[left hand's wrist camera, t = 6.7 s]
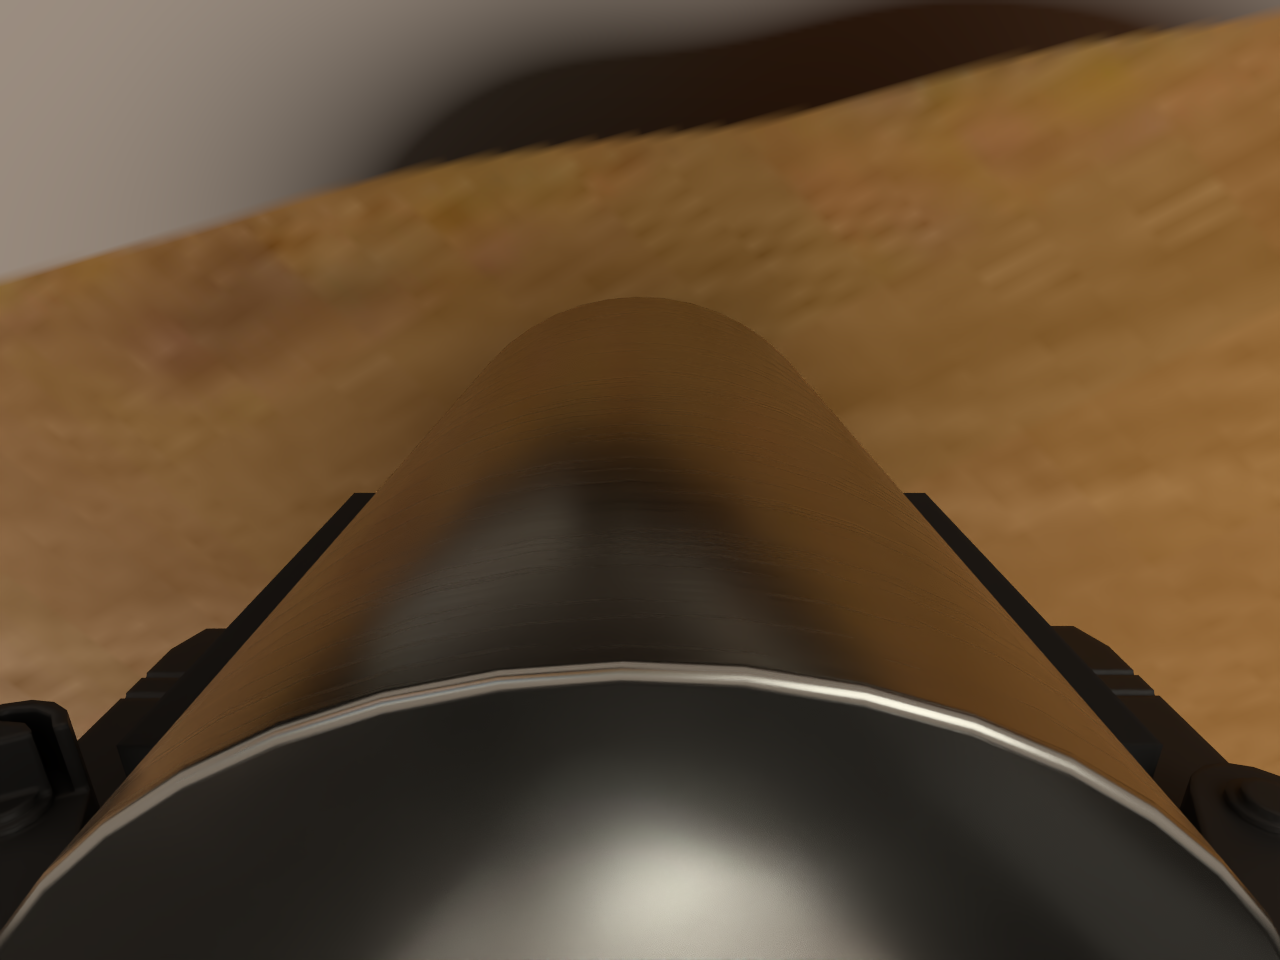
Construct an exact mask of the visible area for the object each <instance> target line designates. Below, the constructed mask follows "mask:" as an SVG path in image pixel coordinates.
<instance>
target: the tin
mask: <svg viewBox="0 0 1280 960" xmlns="http://www.w3.org/2000/svg"><path fill="white" fill-rule="evenodd" d="M0 960H1280V934H1279V932H1278V931H1277V929H1276V927H1275V925H1274V923H1273V921H1272V919H1271V918H1270V916H1269V914H1268V913H1267V912H1266V911H1265V909H1264V908H1263V907H1262V906H1261V905H1260V903H1259V902H1258V901H1257V900H1256V899H1255V897H1254V896H1253V895H1252V894H1251V893H1250V891H1249V890H1248V889H1247V888H1246V887H1245V886H1244V884H1243V883H1242V882H1241V881H1240V880H1239V878H1238V877H1237V876H1236V875H1235V874H1234V872H1233V871H1232V870H1231V869H1230V868H1229V866H1228V865H1227V864H1226V863H1225V862H1224V861H1223V859H1222V858H1221V857H1220V856H1219V855H1218V853H1217V852H1216V851H1215V850H1214V849H1213V848H1212V847H1211V845H1210V844H1209V843H1208V842H1207V841H1206V840H1205V839H1204V837H1203V836H1202V835H1201V834H1200V833H1199V832H1198V831H1197V829H1196V828H1195V827H1194V826H1193V825H1192V824H1191V823H1190V821H1189V820H1188V819H1187V818H1186V817H1185V816H1184V815H1183V813H1182V812H1181V811H1180V810H1179V809H1178V808H1177V807H1176V805H1175V804H1174V803H1173V802H1172V801H1171V800H1170V798H1169V797H1168V796H1167V795H1166V794H1165V793H1164V792H1163V790H1162V789H1161V788H1160V787H1159V786H1158V785H1157V784H1156V782H1155V781H1154V780H1153V779H1152V778H1151V777H1150V776H1149V774H1148V773H1147V772H1146V771H1145V770H1144V769H1143V768H1142V766H1141V765H1140V764H1139V763H1138V762H1137V761H1136V760H1135V758H1134V757H1133V756H1132V755H1131V754H1130V753H1129V752H1128V750H1127V749H1126V748H1125V747H1124V746H1123V745H1122V743H1121V742H1120V741H1119V740H1118V739H1117V738H1116V737H1115V735H1114V734H1113V733H1112V732H1111V731H1110V730H1109V729H1108V727H1107V726H1106V725H1105V724H1104V723H1103V722H1102V721H1101V719H1100V718H1099V717H1098V716H1097V715H1096V714H1095V713H1094V711H1093V710H1092V709H1091V708H1090V707H1089V706H1088V705H1087V703H1086V702H1085V701H1084V700H1083V699H1082V698H1081V697H1080V695H1079V694H1078V693H1077V692H1076V691H1075V690H1074V689H1073V687H1072V686H1071V685H1070V684H1069V683H1068V682H1067V680H1066V679H1065V678H1064V677H1063V676H1062V675H1061V674H1060V672H1059V671H1058V670H1057V669H1056V668H1055V667H1054V666H1053V664H1052V663H1051V662H1050V661H1049V660H1048V659H1047V658H1046V656H1045V655H1044V654H1043V653H1042V652H1041V651H1040V650H1039V648H1038V647H1037V646H1036V645H1035V644H1034V643H1033V642H1032V640H1031V639H1030V638H1029V637H1028V636H1027V635H1026V634H1025V632H1024V631H1023V630H1022V629H1021V628H1020V627H1019V625H1018V624H1017V623H1016V622H1015V621H1014V620H1013V619H1012V617H1011V616H1010V615H1009V614H1008V613H1007V612H1006V611H1005V609H1004V608H1003V607H1002V606H1001V605H1000V604H999V603H998V601H997V600H996V599H995V598H994V597H993V596H992V595H991V593H990V592H989V591H988V590H987V589H986V588H985V587H984V585H983V584H982V583H981V582H980V581H979V580H978V579H977V577H976V576H975V575H974V574H973V573H972V572H971V571H970V569H969V568H968V567H967V566H966V565H965V564H964V562H963V561H962V560H961V559H960V558H959V557H958V556H957V554H956V553H955V552H954V551H953V550H952V549H951V548H950V546H949V545H948V544H947V543H946V542H945V541H944V540H943V538H942V537H941V536H940V535H939V534H938V533H937V532H936V530H935V529H934V528H933V527H932V526H931V525H930V524H929V522H928V521H927V520H926V519H925V518H924V517H923V516H922V514H921V513H920V512H919V511H918V510H917V509H916V507H915V506H914V505H913V504H912V503H911V502H910V501H909V499H908V498H907V497H906V496H905V495H904V494H903V493H902V491H901V490H900V489H899V488H898V487H897V486H896V485H895V483H894V482H893V481H892V480H891V479H890V478H889V477H888V475H887V474H886V473H885V472H884V471H883V470H882V469H881V467H880V466H879V465H878V464H877V463H876V462H875V461H874V459H873V458H872V457H871V456H870V455H869V454H868V453H867V451H866V450H865V449H864V448H863V447H862V446H861V444H860V443H859V442H858V441H857V440H856V439H855V438H854V436H853V435H852V434H851V433H850V432H849V431H848V430H847V428H846V427H845V426H844V425H843V424H842V423H841V422H840V420H839V419H838V418H837V417H836V416H835V415H834V414H833V412H832V411H831V410H830V409H829V408H828V407H827V406H826V404H825V403H824V402H823V401H822V400H821V399H820V398H819V396H818V395H817V394H816V393H815V392H814V391H813V389H812V388H811V387H810V386H809V385H808V384H807V383H806V381H805V380H804V379H803V378H802V377H801V376H800V375H799V373H798V372H797V371H796V370H795V369H794V368H793V367H792V365H791V364H790V363H789V362H788V361H787V360H786V359H785V357H784V356H783V355H782V354H780V353H779V352H778V351H777V350H776V349H775V348H774V347H773V346H771V345H770V344H769V343H768V342H767V341H766V340H765V339H764V338H762V337H761V336H759V335H758V334H756V333H755V332H753V331H752V330H750V329H749V328H747V327H746V326H744V325H743V324H741V323H739V322H737V321H735V320H733V319H731V318H729V317H727V316H725V315H722V314H720V313H718V312H716V311H713V310H710V309H707V308H704V307H701V306H698V305H695V304H691V303H687V302H681V301H676V300H670V299H665V298H647V297H629V298H618V299H607V300H603V301H598V302H594V303H590V304H585V305H581V306H578V307H575V308H573V309H570V310H567V311H565V312H562V313H559V314H557V315H554V316H552V317H551V318H549V319H547V320H545V321H543V322H541V323H539V324H537V325H536V326H534V327H532V328H530V329H529V330H528V331H526V332H525V333H523V334H522V335H521V336H519V337H518V338H517V339H515V340H514V341H512V342H511V343H510V344H509V345H508V346H507V347H506V348H505V349H504V350H503V351H501V352H500V353H499V354H498V355H497V356H496V357H495V358H494V359H493V360H492V361H491V362H490V363H489V365H488V366H487V367H486V368H485V369H484V370H483V371H482V373H481V374H480V375H479V376H478V377H477V378H476V379H475V381H474V382H473V383H472V384H471V385H470V386H469V387H468V389H467V390H466V391H465V392H464V393H463V394H462V395H461V397H460V398H459V399H458V400H457V401H456V402H455V403H454V405H453V406H452V407H451V408H450V409H449V410H448V411H447V413H446V414H445V415H444V416H443V417H442V418H441V419H440V421H439V422H438V423H437V424H436V425H435V426H434V427H433V429H432V430H431V431H430V432H429V433H428V434H427V435H426V437H425V438H424V439H423V440H422V441H421V442H420V443H419V445H418V446H417V447H416V448H415V449H414V450H413V451H412V452H411V454H410V455H409V456H408V457H407V458H406V459H405V460H404V462H403V463H402V464H401V465H400V466H399V467H398V468H397V470H396V471H395V472H394V473H393V474H392V475H391V476H390V478H389V479H388V480H387V481H386V482H385V483H384V484H383V486H382V487H381V488H380V489H379V490H378V491H377V492H376V494H375V495H374V496H373V497H372V498H371V499H370V500H369V502H368V503H367V504H366V505H365V506H364V507H363V508H362V510H361V511H360V512H359V513H358V514H357V515H356V516H355V518H354V519H353V520H352V521H351V522H350V523H349V524H348V526H347V527H346V528H345V529H344V530H343V531H342V532H341V534H340V535H339V536H338V537H337V538H336V539H335V540H334V542H333V543H332V544H331V545H330V546H329V547H328V548H327V550H326V551H325V552H324V553H323V554H322V555H321V556H320V558H319V559H318V560H317V561H316V562H315V563H314V564H313V566H312V567H311V568H310V569H309V570H308V571H307V572H306V574H305V575H304V576H303V577H302V578H301V579H300V580H299V582H298V583H297V584H296V585H295V586H294V587H293V588H292V590H291V591H290V592H289V593H288V594H287V595H286V596H285V598H284V599H283V600H282V601H281V602H280V603H279V604H278V606H277V607H276V608H275V609H274V610H273V611H272V612H271V614H270V615H269V616H268V617H267V618H266V619H265V620H264V622H263V623H262V624H261V625H260V626H259V627H258V628H257V630H256V631H255V632H254V633H253V634H252V635H251V636H250V638H249V639H248V640H247V641H246V642H245V643H244V644H243V646H242V647H241V648H240V649H239V650H238V651H237V652H236V654H235V655H234V656H233V657H232V658H231V659H230V660H229V662H228V663H227V664H226V665H225V666H224V667H223V668H222V670H221V671H220V672H219V673H218V674H217V675H216V676H215V678H214V679H213V680H212V681H211V682H210V683H209V684H208V686H207V687H206V688H205V689H204V690H203V691H202V692H201V694H200V695H199V696H198V697H197V698H196V699H195V700H194V702H193V703H192V704H191V705H190V706H189V707H188V708H187V710H186V711H185V712H184V713H183V714H182V715H181V716H180V718H179V719H178V720H177V721H176V722H175V723H174V724H173V726H172V727H171V728H170V729H169V730H168V731H167V732H166V734H165V735H164V736H163V737H162V738H161V739H160V740H159V742H158V743H157V744H156V745H155V746H154V747H153V748H152V750H151V751H150V752H149V753H148V754H147V755H146V756H145V758H144V759H143V760H142V761H141V762H140V763H139V764H138V766H137V767H136V768H135V769H134V770H133V771H132V772H131V774H130V775H129V776H128V777H127V778H126V779H125V780H124V782H123V783H122V784H121V785H120V786H119V787H118V788H117V790H116V791H115V792H114V793H113V794H112V795H111V796H110V798H109V799H108V800H107V801H106V802H105V803H104V804H103V806H102V807H101V808H100V809H99V810H98V811H97V812H96V814H95V815H94V816H93V817H92V818H91V819H90V820H89V822H88V823H87V824H86V825H85V826H84V827H83V828H82V830H81V831H80V832H79V833H78V834H77V835H76V836H75V838H74V839H73V840H72V841H71V842H70V843H69V844H68V846H67V847H66V848H65V849H64V850H63V851H62V852H61V854H60V855H59V856H58V857H57V858H56V859H55V860H54V862H53V863H52V864H51V865H50V866H49V867H48V868H47V870H46V871H45V872H44V873H43V874H42V876H41V877H40V878H39V880H38V881H37V882H36V884H35V885H34V886H33V888H32V889H31V890H30V892H29V893H28V894H27V896H26V897H25V898H24V900H23V901H22V902H21V904H20V905H19V906H18V908H17V909H16V910H15V912H14V913H13V914H12V916H11V917H10V918H9V920H8V921H7V922H6V924H5V925H4V927H3V928H2V929H1V931H0Z"/></svg>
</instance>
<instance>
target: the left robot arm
mask: <svg viewBox="0 0 1280 960" xmlns="http://www.w3.org/2000/svg"><path fill="white" fill-rule="evenodd" d="M375 494H376V493H354V494H353V495H352V496H351V497H350V498H349V499H348V500H347V501H346V503H345V504H344V505H343V506H342V507H341V508H340V509H339V510H338V511H337V512H336V513H335V514H334V515H333V516H332V517H331V518H330V519H329V521H328V522H327V523H326V524H325V525H324V526H323V527H322V528H321V529H320V530H319V531H318V532H317V533H316V534H315V535H314V536H313V537H312V539H311V540H310V541H309V542H308V543H307V544H306V545H305V546H304V547H303V548H302V549H301V550H300V551H299V552H298V553H297V554H296V555H295V557H294V558H293V559H292V560H291V561H290V562H289V563H288V564H287V565H286V566H285V567H284V568H283V569H282V570H281V571H280V572H279V573H278V575H277V576H276V577H275V578H274V579H273V580H272V581H271V582H270V583H269V584H268V585H267V586H266V587H265V588H264V589H263V590H262V591H261V593H260V594H259V595H258V596H257V597H256V598H255V599H254V600H253V601H252V602H251V603H250V604H249V605H248V606H247V607H246V608H245V609H244V611H243V612H242V613H241V614H240V615H239V616H238V617H237V618H236V619H235V620H234V621H233V622H232V623H231V624H230V625H229V626H228V627H227V629H205V630H203V631H202V632H200V633H198V634H196V635H195V636H193V637H191V638H190V639H188V640H186V641H184V642H183V643H181V644H179V645H178V646H176V647H174V648H172V649H171V650H170V651H169V652H168V653H167V654H166V655H165V656H164V657H163V658H162V659H161V660H160V661H159V662H158V663H157V664H156V665H155V666H154V667H153V668H152V669H151V670H149V671H148V672H147V677H146V678H141V679H140V680H139V681H138V682H137V683H136V684H135V685H134V686H133V687H132V688H131V689H130V690H129V691H128V692H127V693H126V698H125V699H120V700H119V701H118V702H117V703H116V704H115V705H114V706H113V707H112V708H111V709H110V710H109V711H108V712H107V713H106V714H105V715H103V716H102V717H101V718H100V719H99V720H98V721H97V722H96V723H95V724H94V725H93V726H92V727H91V728H90V729H89V730H88V731H87V732H86V733H85V734H84V735H83V736H82V737H81V738H80V739H79V740H78V741H77V739H76V736H75V733H74V730H73V727H72V724H71V721H70V718H69V715H68V712H67V710H66V709H64V708H63V707H61V706H59V705H58V704H56V703H55V702H48V701H38V700H28V701H21V702H14V703H7V704H1V705H0V931H1V929H2V928H3V927H4V925H5V924H6V922H7V921H8V920H9V918H10V917H11V916H12V914H13V913H14V912H15V910H16V909H17V908H18V906H19V905H20V904H21V902H22V901H23V900H24V898H25V897H26V896H27V894H28V893H29V892H30V890H31V889H32V888H33V886H34V885H35V884H36V882H37V881H38V880H39V878H40V877H41V876H42V874H43V873H44V872H45V871H46V870H47V868H48V867H49V866H50V865H51V864H52V863H53V862H54V860H55V859H56V858H57V857H58V856H59V855H60V854H61V852H62V851H63V850H64V849H65V848H66V847H67V846H68V844H69V843H70V842H71V841H72V840H73V839H74V838H75V836H76V835H77V834H78V833H79V832H80V831H81V830H82V828H83V827H84V826H85V825H86V824H87V823H88V822H89V820H90V819H91V818H92V817H93V816H94V815H95V814H96V812H97V811H98V810H99V809H100V808H101V807H102V806H103V804H104V803H105V802H106V801H107V800H108V799H109V798H110V796H111V795H112V794H113V793H114V792H115V791H116V790H117V788H118V787H119V786H120V785H121V784H122V783H123V782H124V780H125V779H126V778H127V777H128V776H129V775H130V774H131V772H132V771H133V770H134V769H135V768H136V767H137V766H138V764H139V763H140V762H141V761H142V760H143V759H144V758H145V756H146V755H147V754H148V753H149V752H150V751H151V750H152V748H153V747H154V746H155V745H156V744H157V743H158V742H159V740H160V739H161V738H162V737H163V736H164V735H165V734H166V732H167V731H168V730H169V729H170V728H171V727H172V726H173V724H174V723H175V722H176V721H177V720H178V719H179V718H180V716H181V715H182V714H183V713H184V712H185V711H186V710H187V708H188V707H189V706H190V705H191V704H192V703H193V702H194V700H195V699H196V698H197V697H198V696H199V695H200V694H201V692H202V691H203V690H204V689H205V688H206V687H207V686H208V684H209V683H210V682H211V681H212V680H213V679H214V678H215V676H216V675H217V674H218V673H219V672H220V671H221V670H222V668H223V667H224V666H225V665H226V664H227V663H228V662H229V660H230V659H231V658H232V657H233V656H234V655H235V654H236V652H237V651H238V650H239V649H240V648H241V647H242V646H243V644H244V643H245V642H246V641H247V640H248V639H249V638H250V636H251V635H252V634H253V633H254V632H255V631H256V630H257V628H258V627H259V626H260V625H261V624H262V623H263V622H264V620H265V619H266V618H267V617H268V616H269V615H270V614H271V612H272V611H273V610H274V609H275V608H276V607H277V606H278V604H279V603H280V602H281V601H282V600H283V599H284V598H285V596H286V595H287V594H288V593H289V592H290V591H291V590H292V588H293V587H294V586H295V585H296V584H297V583H298V582H299V580H300V579H301V578H302V577H303V576H304V575H305V574H306V572H307V571H308V570H309V569H310V568H311V567H312V566H313V564H314V563H315V562H316V561H317V560H318V559H319V558H320V556H321V555H322V554H323V553H324V552H325V551H326V550H327V548H328V547H329V546H330V545H331V544H332V543H333V542H334V540H335V539H336V538H337V537H338V536H339V535H340V534H341V532H342V531H343V530H344V529H345V528H346V527H347V526H348V524H349V523H350V522H351V521H352V520H353V519H354V518H355V516H356V515H357V514H358V513H359V512H360V511H361V510H362V508H363V507H364V506H365V505H366V504H367V503H368V502H369V500H370V499H371V498H372V497H373V496H374V495H375ZM903 494H904V495H905V496H906V497H907V498H908V499H909V501H910V502H911V503H912V504H913V505H914V506H915V507H916V509H917V510H918V511H919V512H920V513H921V514H922V516H923V517H924V518H925V519H926V520H927V521H928V522H929V524H930V525H931V526H932V527H933V528H934V529H935V530H936V532H937V533H938V534H939V535H940V536H941V537H942V538H943V540H944V541H945V542H946V543H947V544H948V545H949V546H950V548H951V549H952V550H953V551H954V552H955V553H956V554H957V556H958V557H959V558H960V559H961V560H962V561H963V562H964V564H965V565H966V566H967V567H968V568H969V569H970V571H971V572H972V573H973V574H974V575H975V576H976V577H977V579H978V580H979V581H980V582H981V583H982V584H983V585H984V587H985V588H986V589H987V590H988V591H989V592H990V593H991V595H992V596H993V597H994V598H995V599H996V600H997V601H998V603H999V604H1000V605H1001V606H1002V607H1003V608H1004V609H1005V611H1006V612H1007V613H1008V614H1009V615H1010V616H1011V617H1012V619H1013V620H1014V621H1015V622H1016V623H1017V624H1018V625H1019V627H1020V628H1021V629H1022V630H1023V631H1024V632H1025V634H1026V635H1027V636H1028V637H1029V638H1030V639H1031V640H1032V642H1033V643H1034V644H1035V645H1036V646H1037V647H1038V648H1039V650H1040V651H1041V652H1042V653H1043V654H1044V655H1045V656H1046V658H1047V659H1048V660H1049V661H1050V662H1051V663H1052V664H1053V666H1054V667H1055V668H1056V669H1057V670H1058V671H1059V672H1060V674H1061V675H1062V676H1063V677H1064V678H1065V679H1066V680H1067V682H1068V683H1069V684H1070V685H1071V686H1072V687H1073V689H1074V690H1075V691H1076V692H1077V693H1078V694H1079V695H1080V697H1081V698H1082V699H1083V700H1084V701H1085V702H1086V703H1087V705H1088V706H1089V707H1090V708H1091V709H1092V710H1093V711H1094V713H1095V714H1096V715H1097V716H1098V717H1099V718H1100V719H1101V721H1102V722H1103V723H1104V724H1105V725H1106V726H1107V727H1108V729H1109V730H1110V731H1111V732H1112V733H1113V734H1114V735H1115V737H1116V738H1117V739H1118V740H1119V741H1120V742H1121V743H1122V745H1123V746H1124V747H1125V748H1126V749H1127V750H1128V752H1129V753H1130V754H1131V755H1132V756H1133V757H1134V758H1135V760H1136V761H1137V762H1138V763H1139V764H1140V765H1141V766H1142V768H1143V769H1144V770H1145V771H1146V772H1147V773H1148V774H1149V776H1150V777H1151V778H1152V779H1153V780H1154V781H1155V782H1156V784H1157V785H1158V786H1159V787H1160V788H1161V789H1162V790H1163V792H1164V793H1165V794H1166V795H1167V796H1168V797H1169V798H1170V800H1171V801H1172V802H1173V803H1174V804H1175V805H1176V807H1177V808H1178V809H1179V810H1180V811H1181V812H1182V813H1183V815H1184V816H1185V817H1186V818H1187V819H1188V820H1189V821H1190V823H1191V824H1192V825H1193V826H1194V827H1195V828H1196V829H1197V831H1198V832H1199V833H1200V834H1201V835H1202V836H1203V837H1204V839H1205V840H1206V841H1207V842H1208V843H1209V844H1210V845H1211V847H1212V848H1213V849H1214V850H1215V851H1216V852H1217V853H1218V855H1219V856H1220V857H1221V858H1222V859H1223V861H1224V862H1225V863H1226V864H1227V865H1228V866H1229V868H1230V869H1231V870H1232V871H1233V872H1234V874H1235V875H1236V876H1237V877H1238V878H1239V880H1240V881H1241V882H1242V883H1243V884H1244V886H1245V887H1246V888H1247V889H1248V890H1249V891H1250V893H1251V894H1252V895H1253V896H1254V897H1255V899H1256V900H1257V901H1258V902H1259V903H1260V905H1261V906H1262V907H1263V908H1264V909H1265V911H1266V912H1267V913H1268V914H1269V916H1270V918H1271V919H1272V921H1273V923H1274V925H1275V927H1276V929H1277V931H1278V932H1279V934H1280V776H1278V775H1275V774H1272V773H1269V772H1266V771H1263V770H1260V769H1258V768H1255V767H1250V766H1243V765H1237V764H1231V763H1228V762H1227V761H1226V760H1225V759H1224V758H1223V757H1222V756H1221V755H1220V754H1219V753H1218V752H1217V751H1216V750H1215V749H1214V748H1213V747H1212V746H1211V745H1210V744H1209V743H1208V742H1207V741H1206V740H1204V739H1203V738H1202V737H1201V736H1200V735H1199V734H1198V733H1197V732H1196V731H1195V730H1194V729H1193V728H1192V727H1191V726H1190V725H1189V724H1188V723H1187V722H1186V721H1185V720H1184V719H1183V718H1182V717H1181V716H1180V715H1179V714H1178V713H1177V712H1176V711H1175V710H1174V709H1173V708H1172V707H1171V706H1169V705H1168V704H1167V703H1166V702H1165V701H1164V700H1163V699H1162V698H1161V697H1160V696H1155V695H1154V690H1153V689H1152V688H1151V687H1150V686H1149V685H1148V684H1147V683H1146V682H1145V681H1144V680H1143V679H1142V678H1141V677H1140V676H1139V675H1134V673H1133V670H1132V669H1131V668H1130V667H1129V666H1128V665H1127V664H1126V663H1125V662H1124V661H1123V660H1122V659H1121V658H1120V657H1119V656H1118V655H1117V654H1116V653H1115V652H1114V651H1113V650H1112V649H1111V648H1110V647H1109V646H1107V645H1105V644H1104V643H1102V642H1100V641H1098V640H1097V639H1095V638H1093V637H1091V636H1090V635H1088V634H1086V633H1085V632H1083V631H1081V630H1079V629H1078V628H1076V627H1074V626H1050V625H1049V624H1048V623H1047V622H1046V621H1045V620H1044V618H1043V617H1042V616H1041V615H1040V614H1039V613H1038V612H1037V611H1036V610H1035V609H1034V608H1033V607H1032V606H1031V605H1030V604H1029V603H1028V602H1027V600H1026V599H1025V598H1024V597H1023V596H1022V595H1021V594H1020V593H1019V592H1018V591H1017V590H1016V589H1015V588H1014V587H1013V586H1012V585H1011V584H1010V582H1009V581H1008V580H1007V579H1006V578H1005V577H1004V576H1003V575H1002V574H1001V573H1000V572H999V571H998V570H997V569H996V568H995V567H994V566H993V564H992V563H991V562H990V561H989V560H988V559H987V558H986V557H985V556H984V555H983V554H982V553H981V552H980V551H979V550H978V549H977V548H976V546H975V545H974V544H973V543H972V542H971V541H970V540H969V539H968V538H967V537H966V536H965V535H964V534H963V533H962V532H961V531H960V530H959V528H958V527H957V526H956V525H955V524H954V523H953V522H952V521H951V520H950V519H949V518H948V517H947V516H946V515H945V514H944V513H943V512H942V510H941V509H940V508H939V507H938V506H937V505H936V504H935V503H934V502H933V501H932V500H931V499H930V498H929V497H928V496H927V495H926V494H925V493H903Z"/></svg>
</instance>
